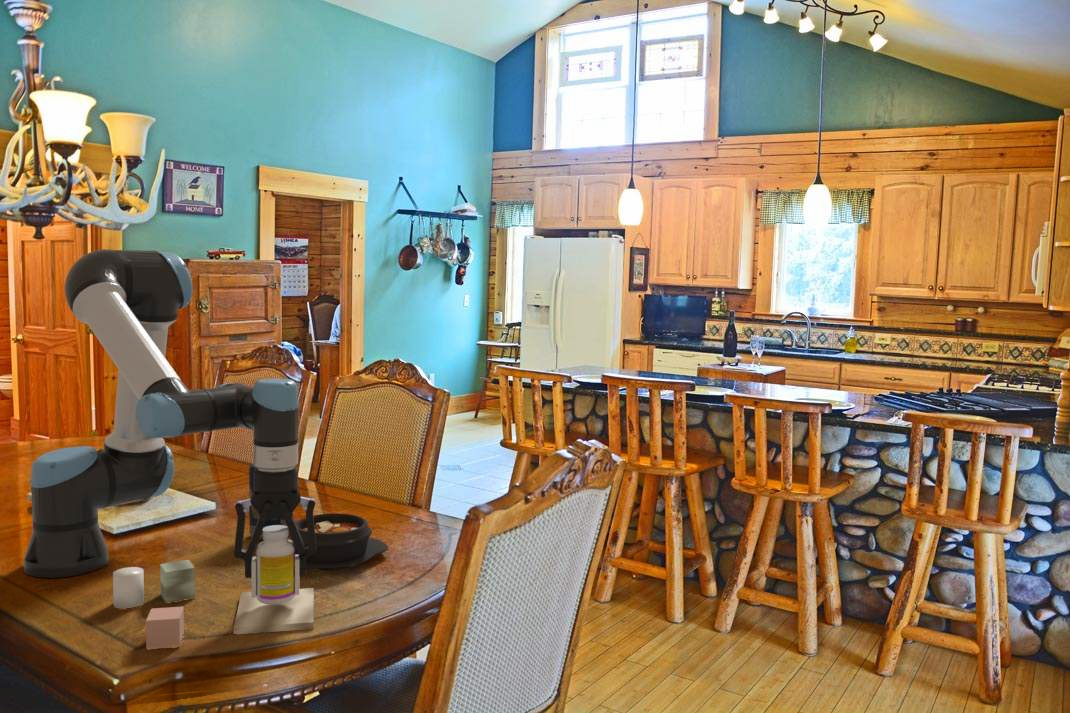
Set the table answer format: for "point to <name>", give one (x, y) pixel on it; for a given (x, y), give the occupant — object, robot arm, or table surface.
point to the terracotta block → (164, 627)
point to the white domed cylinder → (128, 587)
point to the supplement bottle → (275, 566)
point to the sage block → (177, 581)
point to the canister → (252, 511)
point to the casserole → (339, 541)
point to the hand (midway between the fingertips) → (275, 593)
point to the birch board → (275, 614)
